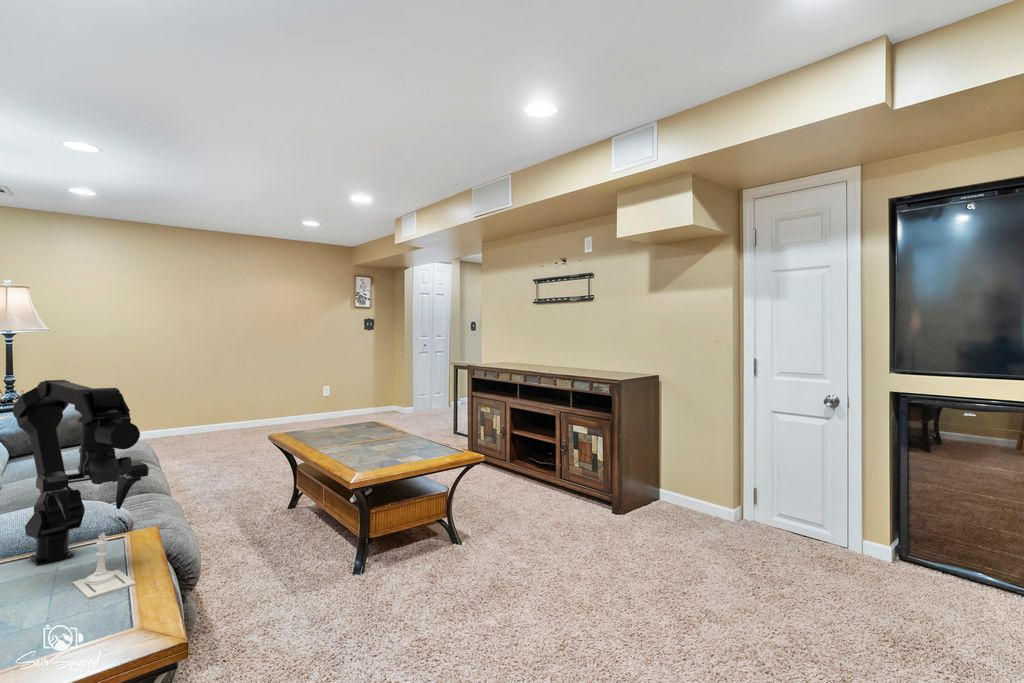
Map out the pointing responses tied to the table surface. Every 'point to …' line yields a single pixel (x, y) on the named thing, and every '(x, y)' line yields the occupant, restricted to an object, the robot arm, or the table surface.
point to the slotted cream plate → (104, 585)
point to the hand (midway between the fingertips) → (93, 513)
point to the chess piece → (100, 565)
